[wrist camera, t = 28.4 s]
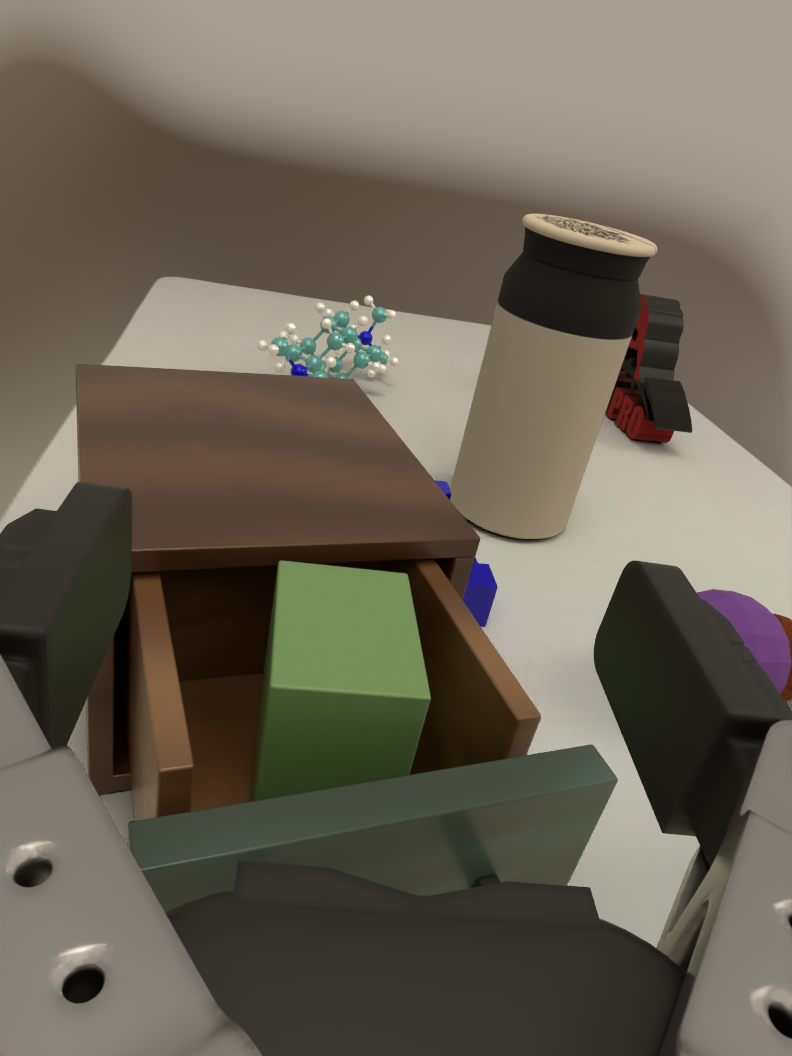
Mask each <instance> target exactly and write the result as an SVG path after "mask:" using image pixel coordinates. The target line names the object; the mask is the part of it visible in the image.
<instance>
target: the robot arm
mask: <svg viewBox="0 0 792 1056" xmlns="http://www.w3.org/2000/svg"><path fill="white" fill-rule="evenodd" d="M131 555H132V494H131V491H130V489H128V488H121V487H114V486H107V485H100V484H93V483H86V482H78V483H76V484H75V486H74V487H73V489H72V490H71V491H70V493H69V494H68V496H67V497H66V499H65V500H64V502H63V503H62V505H61V506H60V507H59V509H58V510H57V511H51V510H43V509H34V510H33V511H31V512H29V513H27V514H25V515H24V516H22V517H20V518H18V519H16V520H15V521H13V522H11V523H9V524H8V525H7V526H6V527H5V528H4V530H3V531H2V532H1V534H0V1056H792V711H791V709H790V708H789V706H788V705H787V703H786V702H785V700H784V699H783V698H782V696H781V695H780V693H779V692H778V690H777V689H776V687H775V686H774V685H773V683H772V682H771V680H770V679H769V677H768V676H767V674H766V673H765V672H764V670H763V669H762V667H761V666H760V665H757V664H756V662H757V660H756V659H755V657H754V656H753V654H752V653H751V651H750V650H749V648H748V647H745V646H744V641H743V640H742V638H741V637H740V635H739V634H738V632H737V631H736V630H735V628H734V627H733V625H732V624H731V622H730V621H729V620H728V619H727V618H726V617H725V616H723V615H722V614H721V613H720V612H719V611H717V610H716V609H715V608H714V607H713V606H711V605H710V604H709V603H708V602H707V601H705V600H703V599H700V598H699V596H698V595H697V593H696V591H695V590H694V588H693V587H692V585H691V584H690V582H689V581H688V579H687V578H686V576H685V575H684V573H683V572H682V571H681V569H680V568H678V567H676V566H670V565H663V564H656V563H648V562H641V561H631V562H629V563H628V564H627V565H626V566H625V568H624V569H623V571H622V574H621V576H620V578H619V581H618V583H617V586H616V588H615V591H614V593H613V596H612V598H611V600H610V603H609V605H608V608H607V610H606V613H605V615H604V618H603V620H602V623H601V625H600V627H599V630H598V633H597V636H596V639H595V645H594V663H595V668H596V671H597V674H598V676H599V679H600V681H601V684H602V686H603V689H604V691H605V694H606V696H607V698H608V701H609V703H610V706H611V708H612V711H613V713H614V716H615V718H616V721H617V723H618V725H619V728H620V730H621V733H622V735H623V738H624V740H625V743H626V745H627V747H628V750H629V752H630V755H631V757H632V760H633V762H634V765H635V767H636V770H637V772H638V774H639V777H640V779H641V782H642V784H643V787H644V789H645V792H646V794H647V796H648V799H649V801H650V804H651V806H652V809H653V811H654V814H655V816H656V819H657V821H658V823H659V826H660V828H661V831H662V833H667V834H678V835H689V836H696V837H697V840H698V842H699V844H700V846H699V848H698V849H697V851H696V853H695V854H694V856H693V858H692V859H691V861H690V864H689V866H688V869H687V871H686V874H685V876H684V879H683V881H682V884H681V886H680V889H679V892H678V894H677V897H676V899H675V902H674V904H673V907H672V909H671V912H670V915H669V917H668V920H667V922H666V925H665V927H664V930H663V932H662V935H661V938H660V940H659V943H658V945H657V948H655V947H654V946H652V945H651V944H649V943H648V942H646V941H644V940H643V939H641V938H639V937H637V936H636V935H634V934H632V933H630V932H629V931H627V930H625V929H623V928H620V927H618V926H616V925H614V924H611V923H609V922H607V921H604V920H602V919H599V917H598V913H597V910H596V907H595V903H594V900H593V896H592V893H591V889H590V888H589V887H576V886H563V885H550V884H537V883H524V882H511V881H506V882H501V883H496V884H490V885H485V886H479V887H474V888H469V889H463V890H458V891H453V892H447V893H442V894H436V895H431V896H418V895H414V894H410V893H407V892H404V891H401V890H398V889H395V888H391V887H388V886H385V885H382V884H379V883H376V882H373V881H370V880H366V879H363V878H360V877H357V876H354V875H351V874H348V873H345V872H342V871H338V870H335V869H332V868H329V867H316V866H303V865H290V864H277V863H264V862H251V861H238V867H237V874H236V880H235V887H234V890H231V891H225V892H220V893H215V894H212V895H208V896H205V897H202V898H198V899H195V900H192V901H190V902H187V903H185V904H183V905H180V906H178V907H176V908H174V909H171V910H169V911H167V912H164V910H163V908H162V907H161V905H160V903H159V901H158V900H157V898H156V896H155V894H154V892H153V891H152V889H151V887H150V885H149V884H148V882H147V880H146V878H145V876H144V875H143V873H142V871H141V869H140V868H139V866H138V864H137V862H136V861H135V859H134V857H133V855H132V853H131V852H130V850H129V848H128V846H127V845H126V843H125V841H124V839H123V837H122V836H121V834H120V832H119V830H118V829H117V827H116V825H115V823H114V822H113V820H112V818H111V816H110V814H109V813H108V811H107V809H106V807H105V806H104V804H103V802H102V800H101V799H100V797H99V795H98V793H97V791H96V790H95V788H94V786H93V784H92V783H91V781H90V779H89V777H88V775H87V774H86V772H85V770H84V768H83V767H82V765H81V763H80V761H79V760H78V758H77V756H76V755H75V753H74V752H73V751H72V750H71V749H70V748H69V747H68V746H67V743H68V741H69V739H70V736H71V734H72V732H73V729H74V727H75V725H76V722H77V720H78V718H79V715H80V713H81V711H82V708H83V706H84V704H85V701H86V699H87V697H88V695H89V692H90V690H91V688H92V685H93V683H94V681H95V678H96V676H97V674H98V671H99V669H100V667H101V664H102V662H103V660H104V657H105V655H106V653H107V650H108V648H109V646H110V643H111V641H112V639H113V636H114V634H115V632H116V629H117V627H118V625H119V622H120V620H121V618H122V615H123V613H124V610H125V607H126V603H127V599H128V595H129V589H130V582H131Z"/></svg>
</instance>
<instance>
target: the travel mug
mask: <svg viewBox="0 0 792 1056" xmlns="http://www.w3.org/2000/svg"><path fill="white" fill-rule="evenodd" d="M523 224H524V226H525V239H524V247H523V253H522V254H521V255H520V256H519V257H518V259H517V260H516V261H515V262H514V263H513V264H512V266H511V267H510V268H509V269H508V270H507V272H506V273H505V275H504V278H503V283H502V286H501V290H500V294H499V299H498V303H497V306H496V310H495V314H494V318H493V322H492V326H491V330H490V334H489V338H488V342H487V346H486V350H485V354H484V358H483V361H482V365H481V369H480V373H479V377H478V381H477V385H476V389H475V393H474V397H473V401H472V405H471V409H470V413H469V417H468V421H467V425H466V429H465V433H464V437H463V441H462V445H461V449H460V453H459V456H458V460H457V464H456V468H455V472H454V476H453V480H452V484H451V488H450V492H451V498H450V501H451V502H452V503H453V505H454V506H455V507H456V508H457V510H458V511H459V512H460V513H461V515H463V516H464V517H465V518H467V519H468V520H470V521H471V522H473V523H475V524H476V525H477V526H479V527H481V528H483V529H485V530H487V531H490V532H493V533H496V534H499V535H502V536H507V537H512V538H517V539H541V538H548V537H552V536H555V535H557V534H559V533H560V532H562V531H563V530H564V528H565V527H566V524H567V521H568V518H569V515H570V512H571V510H572V507H573V504H574V501H575V498H576V495H577V492H578V489H579V487H580V484H581V481H582V478H583V475H584V472H585V469H586V466H587V464H588V461H589V458H590V455H591V452H592V449H593V446H594V444H595V441H596V438H597V435H598V432H599V429H600V426H601V423H602V421H603V418H604V415H605V412H606V409H607V406H608V403H609V400H610V398H611V395H612V392H613V389H614V386H615V383H616V380H617V378H618V375H619V372H620V369H621V366H622V363H623V360H624V357H625V355H626V352H627V349H628V346H629V343H630V340H631V337H632V334H633V332H634V329H635V326H636V323H637V320H638V317H639V314H640V312H641V309H642V306H641V299H640V292H639V284H638V278H639V277H640V275H641V273H642V271H643V269H644V266H645V264H646V262H647V261H648V260H649V258H650V257H651V256H653V255H654V254H655V253H656V252H657V247H656V245H655V244H654V243H652V242H650V241H649V240H646V239H644V238H641V237H639V236H636V235H633V234H630V233H627V232H624V231H620V230H617V229H613V228H610V227H606V226H602V225H597V224H594V223H589V222H585V221H580V220H576V219H571V218H565V217H559V216H553V215H544V214H528V215H526V216H524V218H523Z"/></svg>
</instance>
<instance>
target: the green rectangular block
mask: <svg viewBox="0 0 792 1056" xmlns="http://www.w3.org/2000/svg"><path fill="white" fill-rule="evenodd" d="M430 700H431V696H430V691H429V685H428V680H427V675H426V669H425V664H424V659H423V653H422V648H421V643H420V637H419V632H418V626H417V621H416V616H415V610H414V605H413V600H412V594H411V589H410V584H409V578H408V575H407V574H406V573H397V572H387V571H377V570H368V569H358V568H349V567H339V566H330V565H320V564H311V563H301V562H292V561H282V560H281V561H279V562H278V567H277V575H276V583H275V590H274V598H273V605H272V613H271V620H270V628H269V635H268V643H267V650H266V658H265V665H264V673H263V680H262V688H261V695H260V703H259V710H258V718H257V725H256V733H255V740H254V748H253V760H252V771H251V783H250V794H249V802H251V801H257V800H263V799H269V798H275V797H281V796H287V795H293V794H299V793H305V792H311V791H317V790H323V789H329V788H335V787H341V786H347V785H353V784H359V783H365V782H371V781H377V780H383V779H389V778H395V777H401V776H406V775H409V774H410V770H411V767H412V763H413V760H414V756H415V753H416V749H417V746H418V742H419V739H420V735H421V732H422V728H423V725H424V721H425V718H426V714H427V711H428V707H429V704H430Z"/></svg>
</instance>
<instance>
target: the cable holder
mask: <svg viewBox="0 0 792 1056" xmlns="http://www.w3.org/2000/svg"><path fill="white" fill-rule="evenodd" d="M434 481H435V480H434ZM435 482H436V483H437V485H438V486H439V487H440V488H441V490H442V491H443V492H444V493H445V495H446V496H447V497H448V498H449V500H450V498H451V492H450V489H449V487H448V484H447V482H444V481H435ZM496 590H497V584H496V582H495V579H494V577H493V574H492V572H491V569H490V567H489V564H479V563H478V562H477V560H476V558H475V556H474V562H473V565H472V569H471V572H470V576H469V579H468V583H467V586H466V590H465V593H464V597H463V600H462V601H463V602H464V603H465V605H466V606H467V608H468V609H469V611H470V612H471V614H472V615H473V617H474V618H475V619H476V621H477V622H478V624H479V625H480V626H486V623H487V619H488V616H489V613H490V610H491V607H492V603H493V600H494V597H495V594H496Z"/></svg>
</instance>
